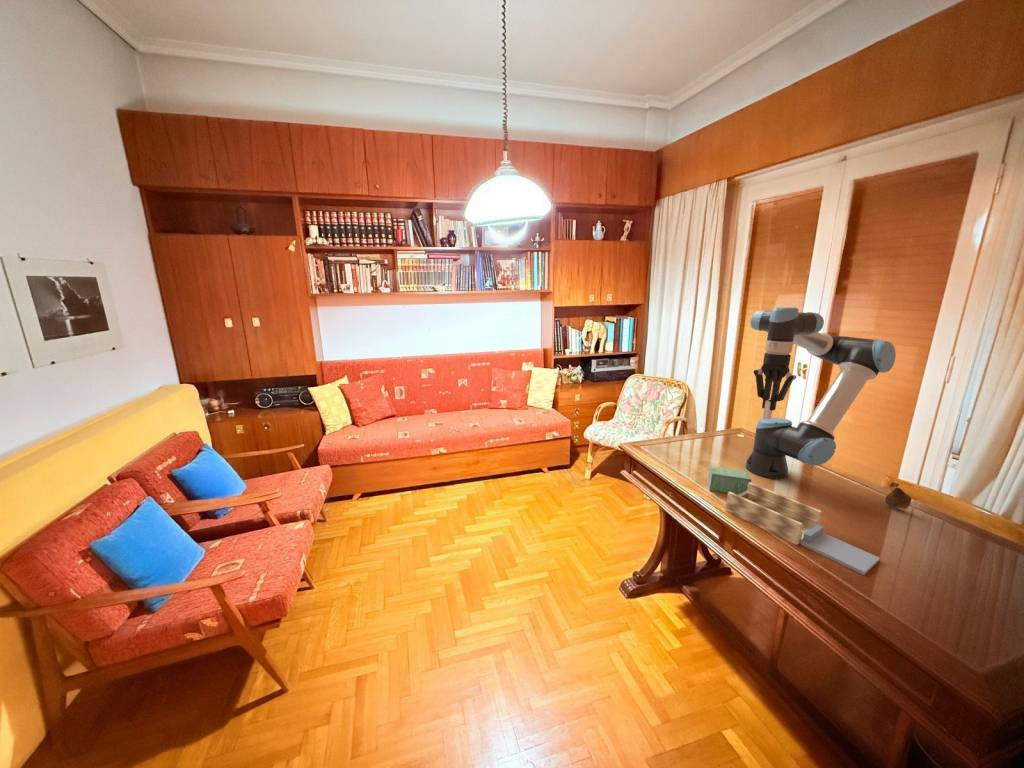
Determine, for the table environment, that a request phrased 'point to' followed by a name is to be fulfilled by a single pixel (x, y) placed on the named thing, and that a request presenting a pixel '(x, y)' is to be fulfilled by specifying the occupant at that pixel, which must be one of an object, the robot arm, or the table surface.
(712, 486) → the box
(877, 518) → the table surface
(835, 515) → the table surface
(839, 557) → the cover plate
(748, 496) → the case
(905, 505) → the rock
